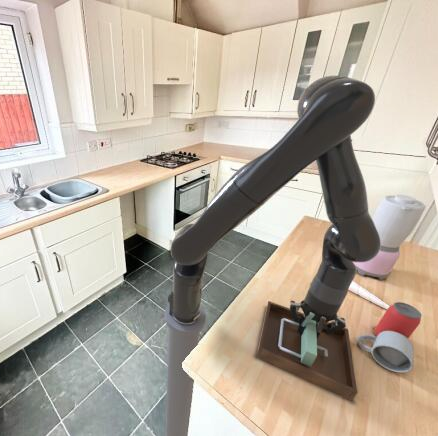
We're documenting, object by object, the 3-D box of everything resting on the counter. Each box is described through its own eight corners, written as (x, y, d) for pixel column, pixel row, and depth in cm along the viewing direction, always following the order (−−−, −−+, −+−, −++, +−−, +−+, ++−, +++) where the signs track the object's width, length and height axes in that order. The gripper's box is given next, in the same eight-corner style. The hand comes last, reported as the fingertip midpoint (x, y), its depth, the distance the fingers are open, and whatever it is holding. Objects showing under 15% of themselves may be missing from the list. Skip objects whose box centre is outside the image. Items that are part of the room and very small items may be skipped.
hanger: (277, 352, 67) (281, 340, 65) (281, 315, 78) (285, 304, 75) (328, 374, 62) (335, 363, 59) (325, 332, 72) (331, 321, 70)
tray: (256, 356, 68) (258, 348, 66) (266, 308, 83) (268, 300, 81) (351, 400, 58) (357, 392, 56) (343, 336, 73) (348, 329, 71)
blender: (392, 284, 91) (439, 208, 76) (352, 274, 96) (388, 201, 81) (380, 260, 104) (418, 191, 88) (345, 253, 109) (375, 186, 93)
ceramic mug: (407, 357, 67) (420, 339, 63) (404, 378, 62) (418, 360, 59) (359, 333, 74) (369, 315, 70) (353, 350, 69) (363, 332, 66)
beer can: (385, 326, 76) (404, 298, 70) (409, 345, 70) (431, 317, 64) (367, 329, 75) (385, 302, 69) (390, 349, 69) (410, 321, 63)
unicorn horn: (394, 321, 77) (401, 310, 75) (318, 276, 96) (322, 267, 94) (401, 315, 79) (408, 304, 77) (325, 272, 98) (329, 263, 96)
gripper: (295, 291, 64) (279, 334, 72) (362, 313, 57) (335, 357, 66) (296, 274, 69) (281, 316, 78) (357, 293, 63) (333, 335, 71)
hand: (306, 334), depth 72 cm, fingers closed on hanger, 2 cm apart
